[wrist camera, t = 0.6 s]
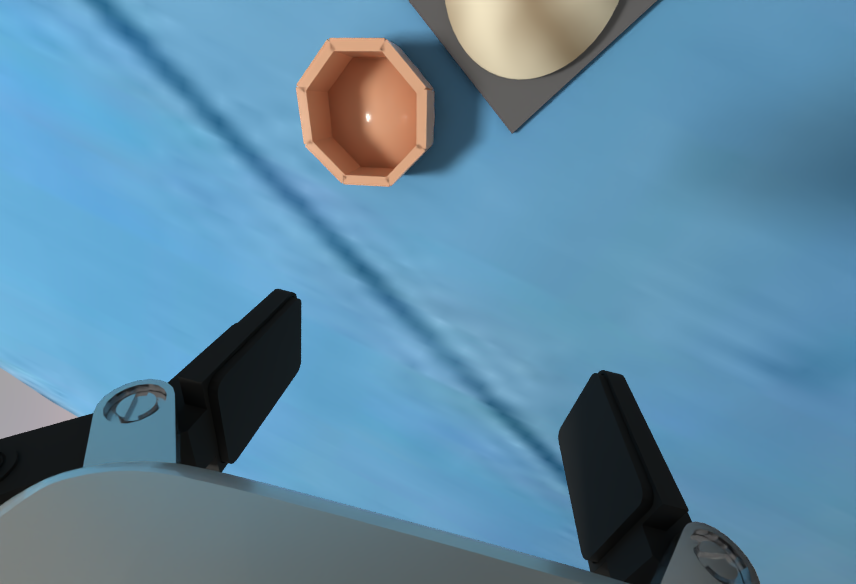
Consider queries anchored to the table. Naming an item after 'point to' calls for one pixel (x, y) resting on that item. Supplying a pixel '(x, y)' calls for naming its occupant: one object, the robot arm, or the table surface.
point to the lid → (527, 32)
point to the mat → (526, 95)
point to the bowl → (365, 110)
